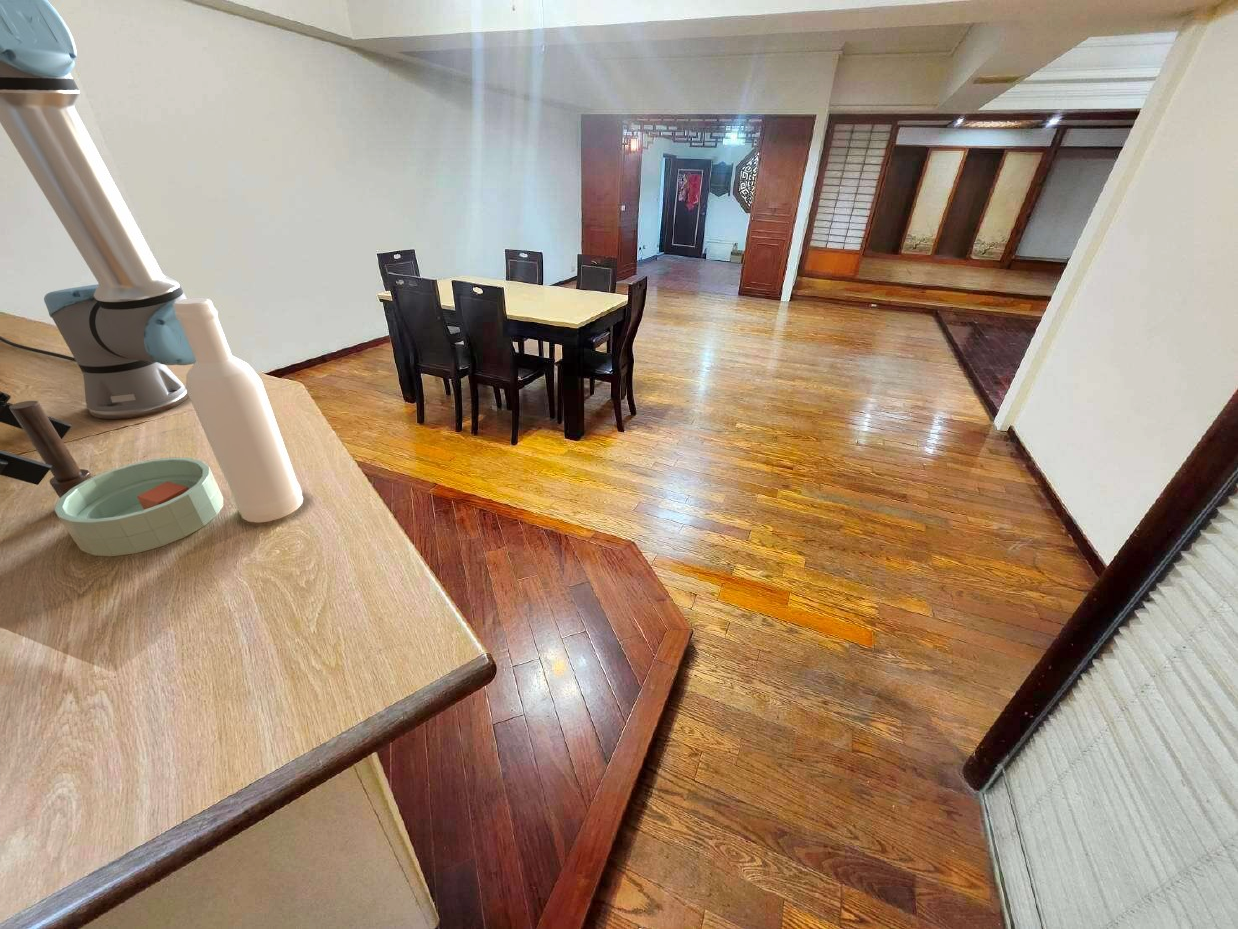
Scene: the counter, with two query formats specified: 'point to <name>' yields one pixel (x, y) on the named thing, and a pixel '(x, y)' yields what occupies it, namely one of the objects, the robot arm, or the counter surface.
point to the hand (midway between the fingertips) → (56, 452)
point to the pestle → (49, 446)
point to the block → (161, 494)
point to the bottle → (237, 419)
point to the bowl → (139, 506)
